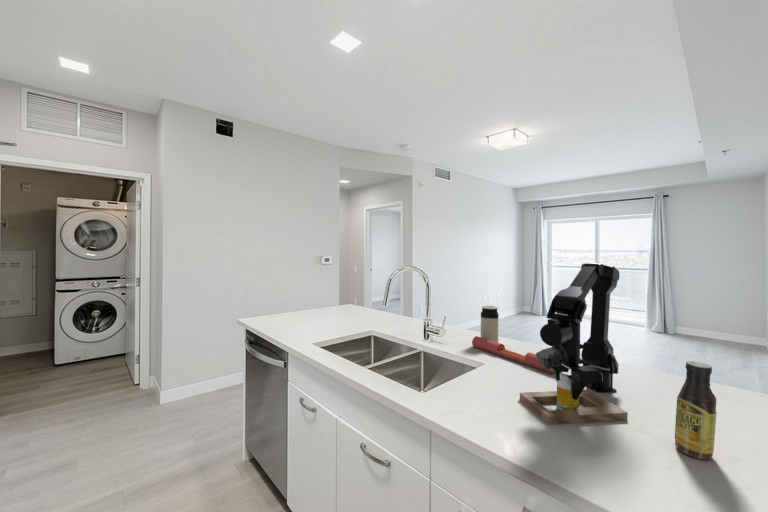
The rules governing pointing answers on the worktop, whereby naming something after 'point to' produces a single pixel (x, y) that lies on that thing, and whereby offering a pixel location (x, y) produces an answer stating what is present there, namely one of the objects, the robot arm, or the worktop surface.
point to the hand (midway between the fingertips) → (567, 394)
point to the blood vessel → (508, 353)
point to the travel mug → (489, 323)
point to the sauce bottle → (696, 413)
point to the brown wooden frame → (593, 413)
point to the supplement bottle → (565, 393)
